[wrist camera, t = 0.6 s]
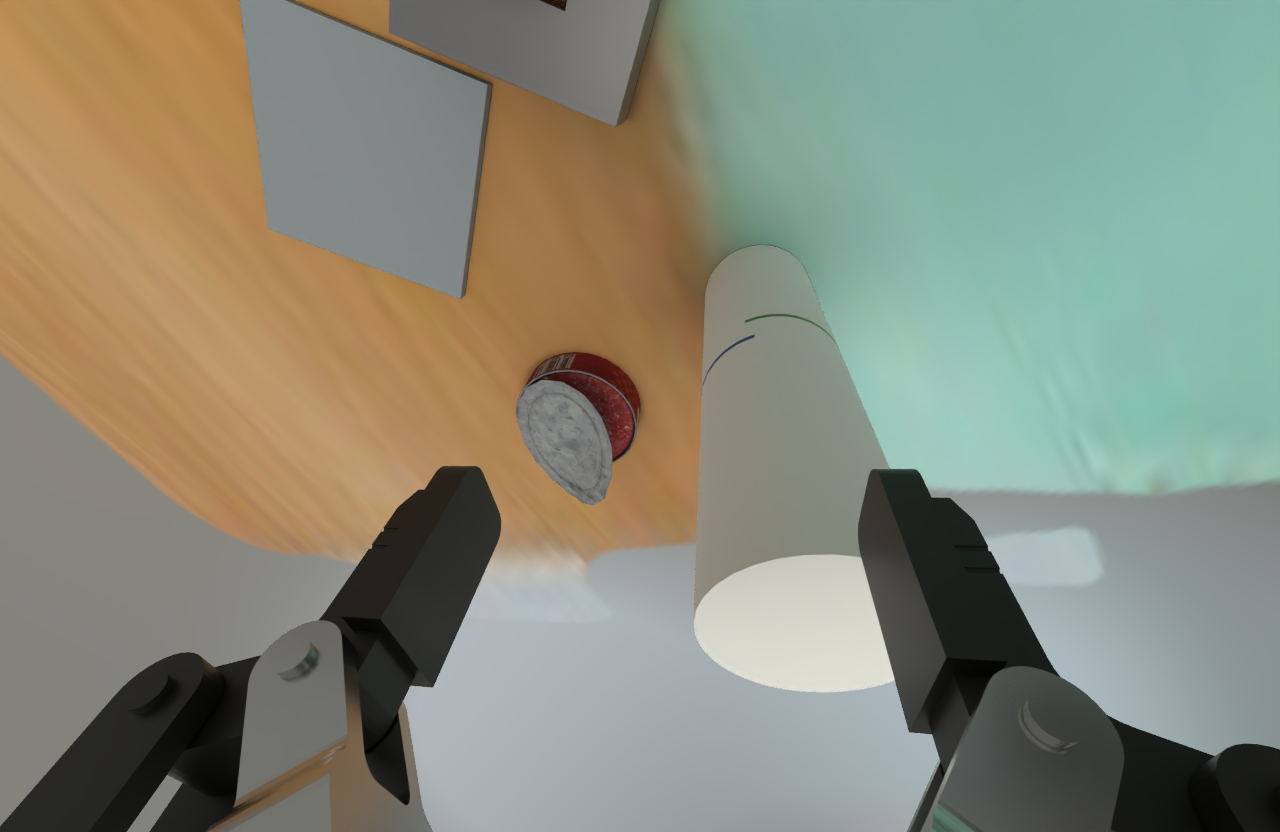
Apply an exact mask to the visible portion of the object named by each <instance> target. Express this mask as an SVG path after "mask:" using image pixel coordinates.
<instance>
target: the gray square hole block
mask: <svg viewBox="0 0 1280 832" xmlns="http://www.w3.org/2000/svg"><path fill="white" fill-rule="evenodd" d="M659 3H660V0H567V4H566V9H564V8H562V7H560V6H558V5H555V4H553V3H551V2H548V1H546V0H390V12H389V33H391V34H394V35H396V36H398V37H401V38H403V39H406V40H408V41H410V42H413V43H415V44H418V45H420V46H422V47H425V48H427V49H429V50H432V51H434V52H437V53H439V54H441V55H444V56H446V57H449V58H451V59H453V60H456V61H458V62H461V63H463V64H465V65H468V66H470V67H473V68H475V69H477V70H480V71H482V72H484V73H487V74H489V75H492V76H494V77H496V78H499V79H501V80H504V81H506V82H508V83H511V84H513V85H516V86H518V87H520V88H523V89H525V90H528V91H530V92H532V93H535V94H537V95H539V96H542V97H544V98H547V99H549V100H551V101H554V102H556V103H559V104H561V105H563V106H566V107H568V108H571V109H573V110H575V111H578V112H580V113H583V114H585V115H587V116H590V117H592V118H594V119H597V120H599V121H602V122H604V123H606V124H609V125H611V126H614V127H617V126H618V125H619V124H621V123H622V122H623V121H625V120H626V119H627V115H628V112H629V108H630V105H631V101H632V98H633V94H634V91H635V87H636V84H637V80H638V77H639V73H640V70H641V66H642V62H643V59H644V55H645V52H646V48H647V45H648V41H649V38H650V34H651V31H652V27H653V24H654V20H655V17H656V13H657V10H658V6H659Z"/></svg>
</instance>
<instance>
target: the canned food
mask: <svg viewBox="0 0 1280 832" xmlns="http://www.w3.org/2000/svg"><path fill="white" fill-rule="evenodd" d="M516 414H517V422H518V425H519V428H520V430H521V434H522V437H523V441H524V443H525V445H526V446H527V448H528V449H529V450H530V452H531V454H532V455H533V457H534V459H535V461H536V462H537V463H538V464H539V465H540V466H541V467H542V468H543V469H544V470H545V471H546V473H547V474H548V475H549V476H550V478H551V479H552V480H553V481H555V482H556V483H558V484H559V485H560V486H561V487H562V488H563V489H564V490H565V491H566V492H567V493H569V494H571V495H572V496H574V497H576V498H577V499H579V500H580V501H581V502H582V503H585V504H590V505H595V504H597V503H598V502H600V501H601V500H603V499H604V498H605V496H606V492H607V488H608V486H609V483H610V480H611V477H612V463H613V462H615V461H617V460H618V459H620V458H621V457H623V456H624V455H625V454H626V453H627V451H628V450H629V449H630V448H631V446H632V444H633V442H634V440H635V436H636V430H637V425H638V420H639V415H640V399H639V395H638V392H637V390H636V388H635V385H634V384H633V382H632V381H631V380H630V378H629V377H628V375H626V374H625V373H624V372H623V371H622V370H621V369H620V368H619V367H618V366H616V365H614V364H613V363H611V362H610V361H608V360H606V359H603V358H601V357H599V356H596V355H592V354H588V353H578V352H572V353H563V354H559V355H556V356H553V357H551V358H549V359H547V360H545V361H544V362H542V363H541V364H540V365H539V366H538V367H537V368H536V369H535V371H534V372H533V374H532V375H531V377H530V378H529V380H528V382H527V384H526V386H525V387H524V389H523V390H522V392H521V393H520V396H519V399H518V401H517V409H516Z"/></svg>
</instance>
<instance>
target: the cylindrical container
mask: <svg viewBox="0 0 1280 832" xmlns="http://www.w3.org/2000/svg"><path fill="white" fill-rule="evenodd" d="M872 469H890V468H889V465H888V463H887V461H886V458H885V456H884V453H883V451H882V449H881V446H880V444H879V442H878V439H877V437H876V435H875V432H874V430H873V428H872V425H871V423H870V421H869V418H868V416H867V414H866V411H865V409H864V407H863V404H862V402H861V400H860V397H859V395H858V393H857V390H856V388H855V385H854V383H853V381H852V378H851V376H850V374H849V371H848V369H847V367H846V364H845V362H844V360H843V357H842V355H841V353H840V350H839V348H838V346H837V343H836V341H835V339H834V336H833V334H832V332H831V329H830V327H829V325H828V322H827V320H826V318H825V315H824V313H823V311H822V308H821V306H820V304H819V301H818V299H817V297H816V294H815V292H814V290H813V287H812V285H811V283H810V280H809V278H808V276H807V273H806V271H805V269H804V267H803V266H802V264H801V263H800V262H799V260H798V259H797V258H795V257H794V256H793V255H792V254H791V253H789V252H787V251H785V250H783V249H781V248H778V247H774V246H769V245H756V246H749V247H746V248H743V249H740V250H737V251H735V252H734V253H732V254H730V255H729V256H727V257H726V258H725V259H724V260H722V261H721V262H720V263H719V265H718V266H717V267H716V268H715V269H714V271H713V273H712V274H711V276H710V278H709V281H708V284H707V287H706V293H705V311H704V341H703V369H702V398H701V426H700V456H699V485H698V513H697V541H696V569H695V571H696V572H695V597H694V629H695V634H696V638H697V640H698V642H699V644H700V645H701V647H702V649H703V650H704V651H705V652H706V653H707V654H708V655H709V656H710V658H712V659H713V660H714V661H715V662H716V663H718V664H719V665H721V666H722V667H723V668H725V669H727V670H729V671H730V672H732V673H735V674H736V675H738V676H740V677H743V678H745V679H748V680H751V681H754V682H756V683H759V684H763V685H767V686H772V687H776V688H780V689H787V690H795V691H802V692H840V691H851V690H858V689H865V688H870V687H874V686H878V685H882V684H886V683H889V682H892V681H894V680H895V679H894V675H893V671H892V668H891V664H890V661H889V657H888V653H887V650H886V646H885V642H884V639H883V635H882V631H881V628H880V624H879V620H878V617H877V613H876V610H875V606H874V602H873V599H872V595H871V591H870V588H869V584H868V580H867V577H866V573H865V570H864V566H863V562H862V559H861V555H860V550H859V544H858V523H859V518H860V513H861V509H862V504H863V499H864V495H865V490H866V486H867V481H868V477H869V474H870V472H871V470H872Z"/></svg>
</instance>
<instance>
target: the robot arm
mask: <svg viewBox="0 0 1280 832" xmlns="http://www.w3.org/2000/svg"><path fill="white" fill-rule="evenodd" d="M500 532H501V517H500V513H499V510H498V508H497V506H496V503H495V501H494V498H493V496H492V494H491V491H490V489H489V486H488V484H487V482H486V479H485V477H484V474H483V472H482V471H481V469H480V468H479V467H477V466H443V467H441V468H440V469H438V470H437V472H436V473H435V475H434V476H433V478H432V479H431V481H430V482H429V484H428V485H427V487H426V488H425V490H418V491H417V492H415V493H414V494H413V495H412V496H411V497H410V498H408V499H407V500H406V501H405V502H404V503H402V504H401V505H400V506H399V507H398V508H397V509H396V511H395V512H394V514H393V515H392V517H391V518H390V519H389V521H388V522H387V524H386V525H385V527H384V531H383V532H380V534H379V535H378V537H377V538H376V540H375V541H374V542H373V544H372V549H369V550H368V551H367V553H366V554H365V555H364V557H363V558H362V560H361V561H360V563H359V564H358V566H357V567H356V569H355V570H354V571H353V573H352V574H351V576H350V577H349V579H348V580H347V581H346V583H345V584H344V586H343V587H342V589H341V590H340V592H339V593H338V594H337V596H336V597H335V599H334V600H333V602H332V603H331V605H330V606H329V607H328V609H327V610H326V612H325V613H324V614H323V616H322V617H321V618H320V619H319V620H318V621H312V622H308V623H305V624H302V625H300V626H298V627H296V628H294V629H292V630H290V631H288V632H287V633H285V634H284V635H282V636H281V637H280V638H278V639H277V640H276V641H275V642H274V643H273V644H272V645H270V646H269V648H268V649H267V650H266V651H265V652H264V653H263V654H262V655H260V656H257V657H253V658H249V659H245V660H242V661H237V662H233V663H230V664H226V665H222V666H218V667H213V666H212V665H211V664H209V663H208V662H207V661H205V660H204V659H203V658H202V657H201V656H199V655H198V654H195V653H189V652H187V653H179V654H175V655H172V656H169V657H166V658H164V659H162V660H160V661H158V662H156V663H154V664H153V665H151V666H149V667H147V668H146V669H145V670H143V671H142V672H140V673H139V674H138V675H136V676H135V677H134V678H132V679H131V680H130V681H129V682H128V683H127V684H126V685H125V686H123V687H122V689H121V690H120V691H119V692H118V693H117V694H116V695H115V696H114V697H113V698H112V699H111V701H110V702H109V703H108V704H107V705H106V706H105V707H104V709H103V710H102V711H101V712H100V713H99V714H98V716H97V717H96V718H95V719H94V720H93V721H92V722H91V724H90V725H89V726H88V727H87V728H86V729H85V730H84V731H83V733H82V734H81V735H80V736H79V737H78V738H77V740H76V741H75V742H74V743H73V744H72V745H71V746H70V747H69V749H68V750H67V751H66V752H65V753H64V754H63V755H62V757H61V758H60V759H59V760H58V761H57V762H56V763H55V765H54V766H53V767H52V768H51V769H50V770H49V771H48V773H47V774H46V775H45V776H44V777H43V778H42V779H41V781H40V782H39V783H38V784H37V785H36V786H35V787H34V788H33V790H32V791H31V792H30V793H29V794H28V795H27V796H26V798H25V799H24V800H23V801H22V802H21V803H20V805H19V806H18V807H17V808H16V809H15V810H14V811H13V813H12V814H11V815H10V816H9V817H8V818H7V819H6V820H5V822H4V823H3V824H2V825H1V826H0V832H127V830H128V829H129V828H130V826H131V825H132V823H133V822H134V820H135V819H136V818H137V816H138V815H139V813H140V812H141V811H142V809H143V808H144V806H145V805H146V804H147V802H148V801H149V799H150V798H151V797H152V795H153V793H154V792H155V791H156V789H157V788H158V787H159V785H160V784H161V782H162V781H163V780H164V778H165V777H166V775H169V776H171V777H173V778H174V779H176V780H178V781H180V782H182V785H181V786H180V788H179V789H178V791H177V792H176V794H175V795H174V797H173V798H172V800H171V801H170V803H169V804H168V806H167V807H166V808H165V810H164V811H163V813H162V814H161V816H160V817H159V819H158V820H157V822H156V823H155V825H154V826H153V828H152V829H151V831H150V832H433V831H432V828H431V826H430V825H429V823H428V821H427V818H426V816H425V813H424V810H423V807H422V802H421V797H420V790H419V784H418V777H417V771H416V765H415V758H414V752H413V746H412V740H411V734H410V728H409V721H408V716H407V709H406V706H405V704H404V702H403V700H404V698H405V696H406V694H407V692H408V690H409V687H410V685H412V686H423V687H433V686H434V684H435V682H436V680H437V677H438V675H439V673H440V670H441V668H442V666H443V664H444V661H445V659H446V657H447V655H448V653H449V650H450V648H451V646H452V643H453V641H454V639H455V637H456V634H457V632H458V630H459V628H460V626H461V623H462V621H463V619H464V617H465V614H466V612H467V610H468V608H469V605H470V603H471V601H472V599H473V596H474V594H475V592H476V590H477V587H478V585H479V583H480V581H481V578H482V576H483V574H484V572H485V569H486V567H487V565H488V563H489V561H490V558H491V556H492V554H493V552H494V549H495V547H496V545H497V543H498V540H499V537H500ZM858 544H859V550H860V555H861V559H862V562H863V566H864V570H865V573H866V577H867V580H868V584H869V588H870V591H871V595H872V599H873V602H874V606H875V610H876V613H877V617H878V620H879V624H880V628H881V631H882V635H883V639H884V642H885V646H886V650H887V653H888V657H889V661H890V664H891V668H892V671H893V675H894V679H895V682H896V686H897V690H898V693H899V697H900V701H901V704H902V708H903V711H904V715H905V719H906V722H907V726H908V730H909V732H914V733H924V734H932V735H933V738H934V742H935V745H936V748H937V751H938V755H939V758H940V759H939V761H938V763H937V765H936V767H935V769H934V772H933V774H932V776H931V778H930V781H929V783H928V785H927V788H926V790H925V792H924V794H923V796H922V799H921V801H920V803H919V805H918V808H917V810H916V812H915V814H914V817H913V819H912V821H911V823H910V826H909V828H908V830H907V832H1280V750H1279V749H1276V748H1272V747H1268V746H1263V745H1258V744H1240V745H1234V746H1231V747H1230V748H1227V749H1225V750H1224V751H1222V752H1221V753H1219V754H1218V755H1216V756H1213V755H1210V754H1207V753H1204V752H1201V751H1199V750H1196V749H1193V748H1190V747H1187V746H1184V745H1182V744H1179V743H1176V742H1173V741H1170V740H1167V739H1164V738H1161V737H1159V736H1156V735H1153V734H1151V733H1148V732H1145V731H1142V730H1139V729H1136V728H1134V727H1131V726H1129V725H1126V724H1124V723H1122V722H1119V721H1118V720H1116V719H1114V718H1112V717H1110V716H1108V715H1106V714H1105V712H1104V711H1103V710H1102V709H1101V708H1100V707H1099V706H1098V705H1097V704H1096V703H1095V702H1094V701H1093V700H1092V699H1091V698H1090V697H1089V696H1088V695H1087V694H1085V693H1084V692H1083V691H1081V690H1080V689H1079V688H1077V687H1076V686H1075V685H1073V684H1071V683H1070V682H1068V681H1066V680H1065V679H1063V678H1061V677H1060V676H1059V675H1058V673H1057V672H1056V671H1055V669H1054V668H1053V666H1052V665H1051V663H1050V661H1049V660H1048V658H1047V656H1046V654H1045V652H1044V650H1043V649H1042V647H1041V645H1040V643H1039V641H1038V639H1037V637H1036V635H1035V634H1034V632H1033V630H1032V628H1031V626H1030V624H1029V622H1028V620H1027V619H1026V617H1025V615H1024V613H1023V611H1022V609H1021V607H1020V605H1019V603H1018V602H1017V600H1016V598H1015V596H1014V594H1013V592H1012V591H1011V588H1010V587H1009V585H1008V583H1007V581H1006V579H1005V577H1004V575H1003V574H1000V571H999V569H1000V568H999V566H998V564H997V562H996V560H995V558H994V557H993V555H992V553H991V551H988V545H987V543H986V542H985V540H984V538H983V536H982V534H981V532H980V530H979V529H978V527H977V525H976V523H975V521H974V520H973V519H972V518H971V517H970V516H969V515H968V514H967V513H966V512H964V510H962V509H961V508H960V507H959V506H958V505H957V504H956V503H955V502H954V501H953V500H951V499H950V498H931V496H930V493H929V491H928V489H927V487H926V485H925V483H924V480H923V478H922V476H921V474H920V473H919V472H918V471H917V470H915V469H872V470H871V472H870V474H869V477H868V481H867V486H866V490H865V495H864V499H863V504H862V509H861V513H860V518H859V523H858Z"/></svg>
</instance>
